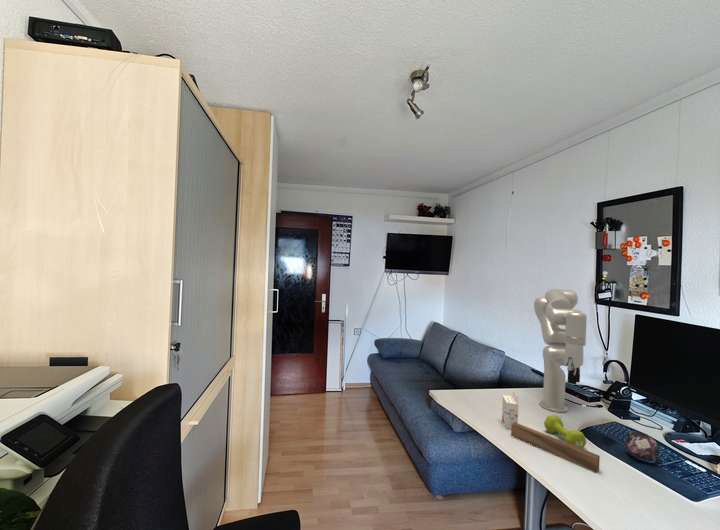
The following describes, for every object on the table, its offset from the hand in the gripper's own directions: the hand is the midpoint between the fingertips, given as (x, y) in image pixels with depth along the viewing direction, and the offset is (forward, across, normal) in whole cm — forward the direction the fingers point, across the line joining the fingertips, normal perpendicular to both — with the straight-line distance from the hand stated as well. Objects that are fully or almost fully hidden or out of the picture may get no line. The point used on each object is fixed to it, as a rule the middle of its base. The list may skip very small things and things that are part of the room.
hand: (573, 382), depth 140 cm
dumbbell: (+23, +10, 0) cm, 25 cm away
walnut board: (+22, +23, 0) cm, 32 cm away
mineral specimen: (+23, 0, +23) cm, 32 cm away
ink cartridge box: (+22, +16, -20) cm, 34 cm away
